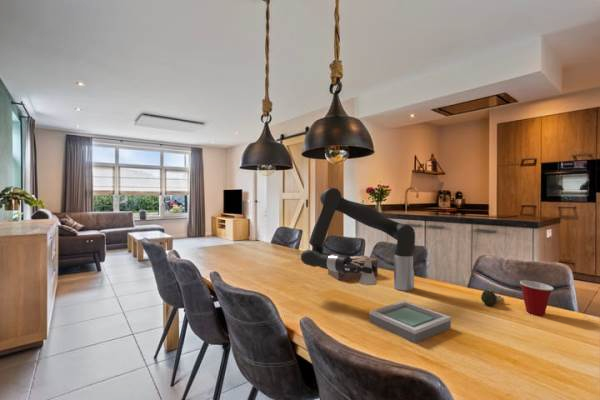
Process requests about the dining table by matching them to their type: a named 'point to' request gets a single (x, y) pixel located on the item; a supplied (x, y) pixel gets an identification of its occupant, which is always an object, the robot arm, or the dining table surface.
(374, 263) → the tissue box cover
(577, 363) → the dining table surface
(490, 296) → the figurine
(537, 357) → the dining table surface
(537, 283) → the plastic cup
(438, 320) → the grey square tray
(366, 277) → the flask
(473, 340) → the dining table surface
